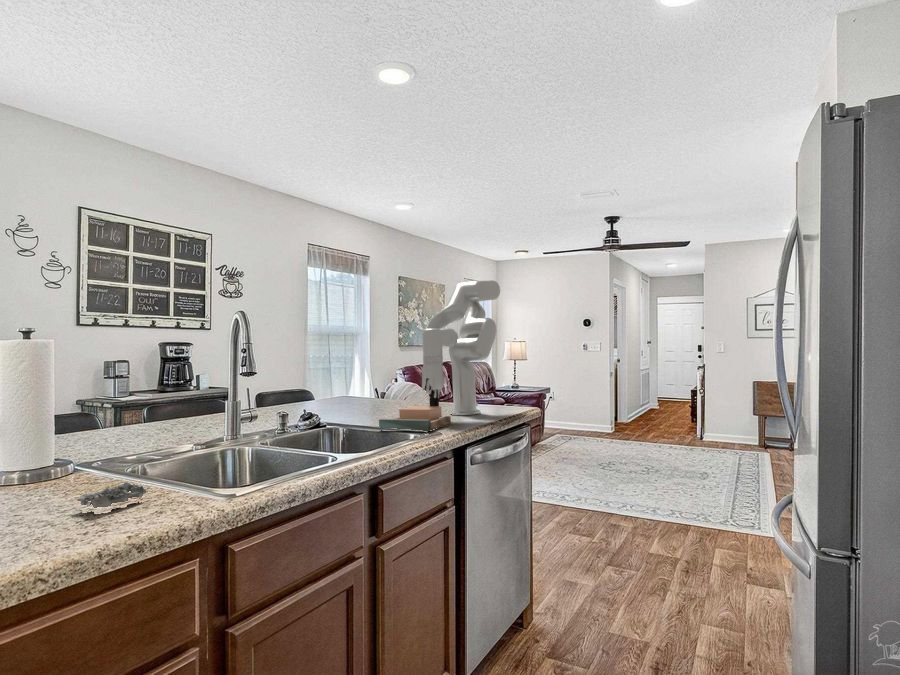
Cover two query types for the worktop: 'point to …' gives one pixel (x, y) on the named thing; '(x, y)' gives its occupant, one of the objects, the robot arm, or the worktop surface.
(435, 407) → the clay slab
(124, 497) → the grey rough flat piece
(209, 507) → the worktop surface
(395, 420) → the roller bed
